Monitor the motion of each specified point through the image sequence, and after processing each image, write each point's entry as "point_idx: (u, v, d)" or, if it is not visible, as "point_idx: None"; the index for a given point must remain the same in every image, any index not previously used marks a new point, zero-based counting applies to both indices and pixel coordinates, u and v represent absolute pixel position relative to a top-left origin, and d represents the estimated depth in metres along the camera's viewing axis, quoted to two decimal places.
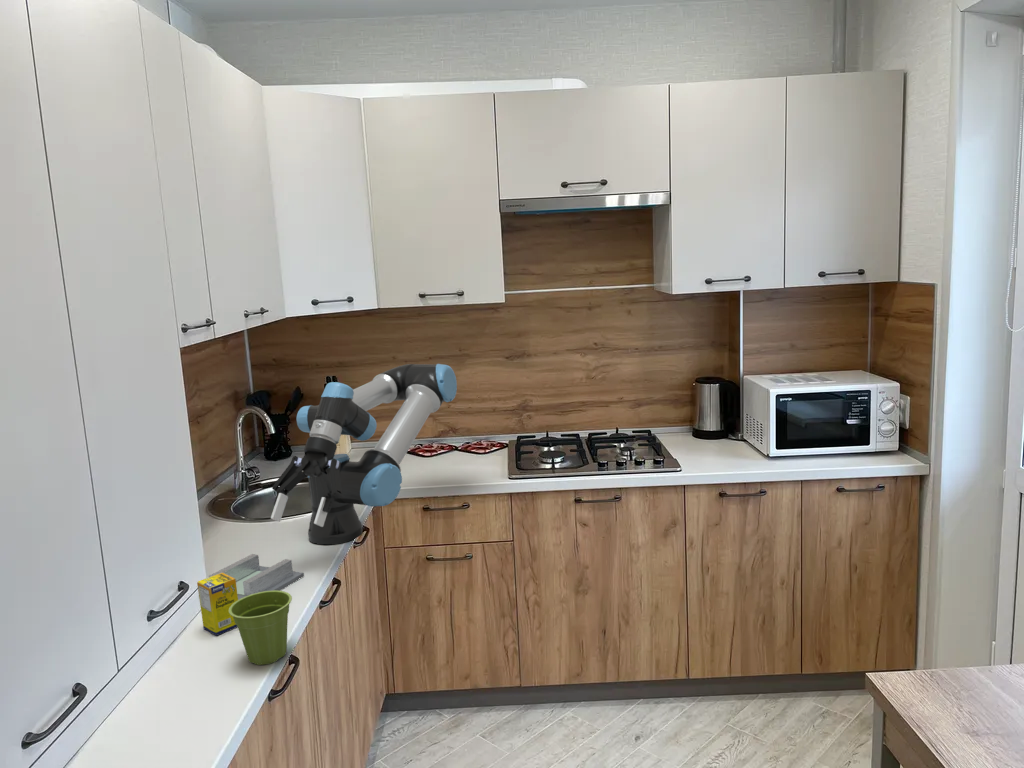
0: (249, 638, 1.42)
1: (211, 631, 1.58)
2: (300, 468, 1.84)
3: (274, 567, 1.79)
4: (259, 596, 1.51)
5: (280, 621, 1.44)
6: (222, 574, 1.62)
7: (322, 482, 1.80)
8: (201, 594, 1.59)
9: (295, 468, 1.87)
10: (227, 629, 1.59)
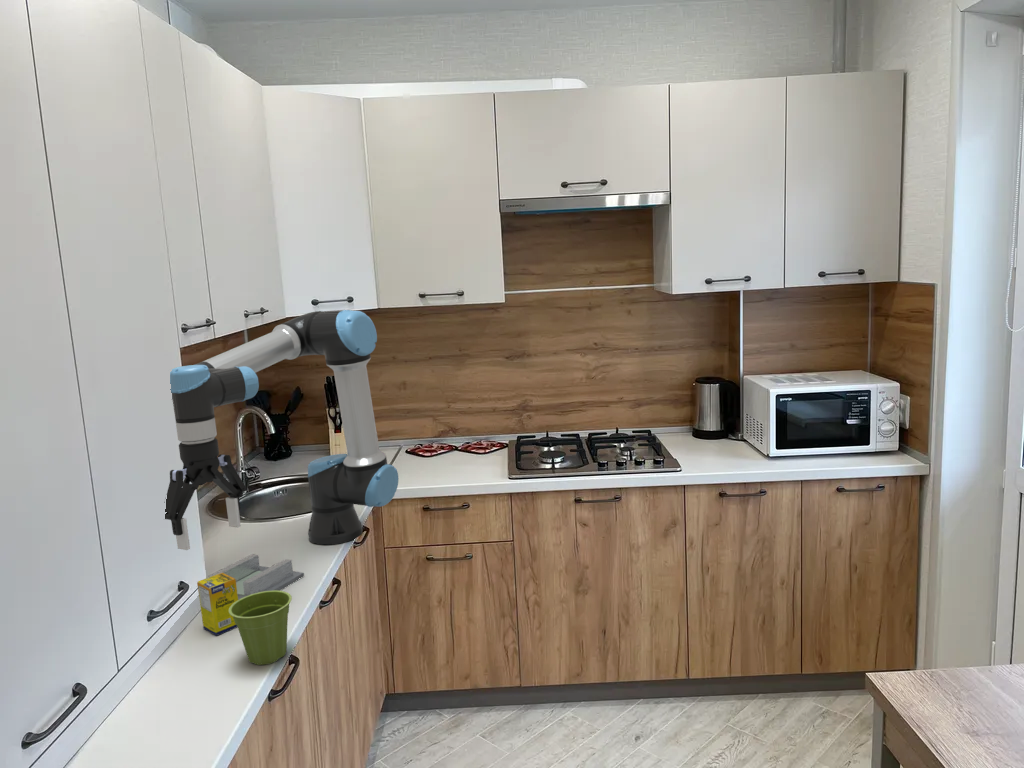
0: (249, 638, 1.42)
1: (211, 631, 1.58)
2: None
3: (274, 567, 1.79)
4: (259, 596, 1.51)
5: (280, 621, 1.44)
6: (222, 574, 1.62)
7: None
8: (201, 594, 1.59)
9: (225, 467, 1.61)
10: (227, 629, 1.59)
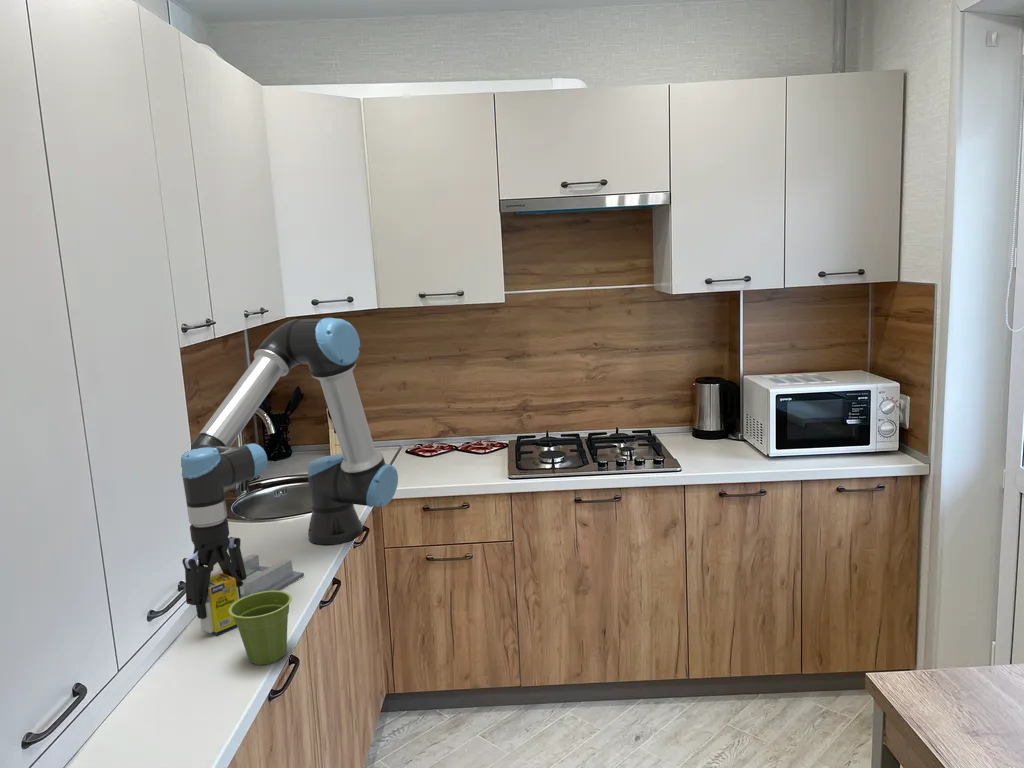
0: (249, 638, 1.42)
1: None
2: None
3: (274, 567, 1.79)
4: (259, 596, 1.51)
5: (280, 621, 1.44)
6: (222, 574, 1.62)
7: None
8: None
9: (232, 550, 1.63)
10: (227, 629, 1.59)
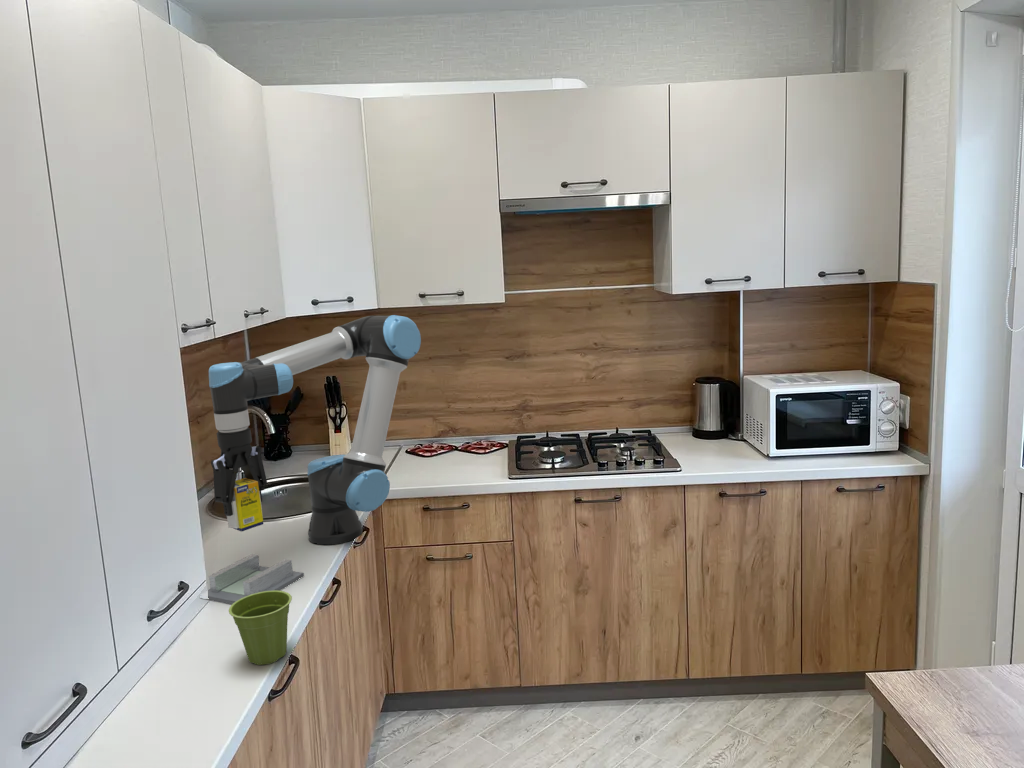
0: (249, 638, 1.42)
1: None
2: None
3: (274, 567, 1.79)
4: (259, 596, 1.51)
5: (280, 621, 1.44)
6: (245, 478, 1.79)
7: None
8: None
9: (254, 457, 1.80)
10: (251, 526, 1.76)
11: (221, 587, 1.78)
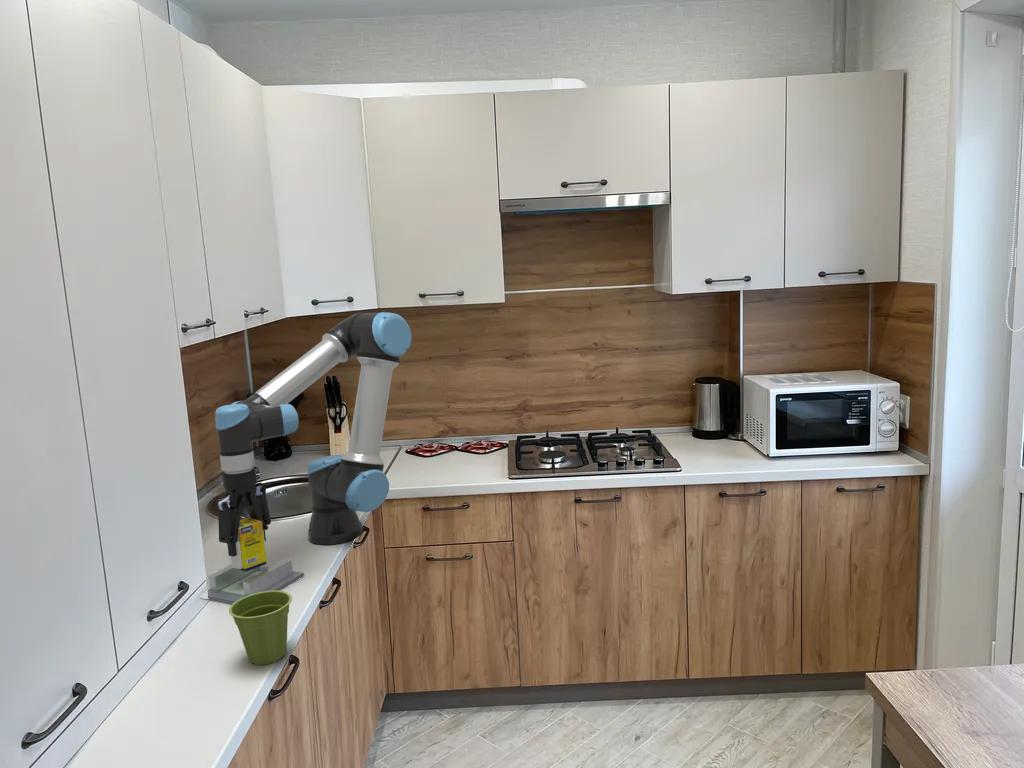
0: (249, 638, 1.42)
1: None
2: None
3: (274, 567, 1.79)
4: (259, 596, 1.51)
5: (280, 621, 1.44)
6: (249, 518, 1.81)
7: None
8: None
9: (259, 497, 1.82)
10: (254, 566, 1.78)
11: (221, 587, 1.78)
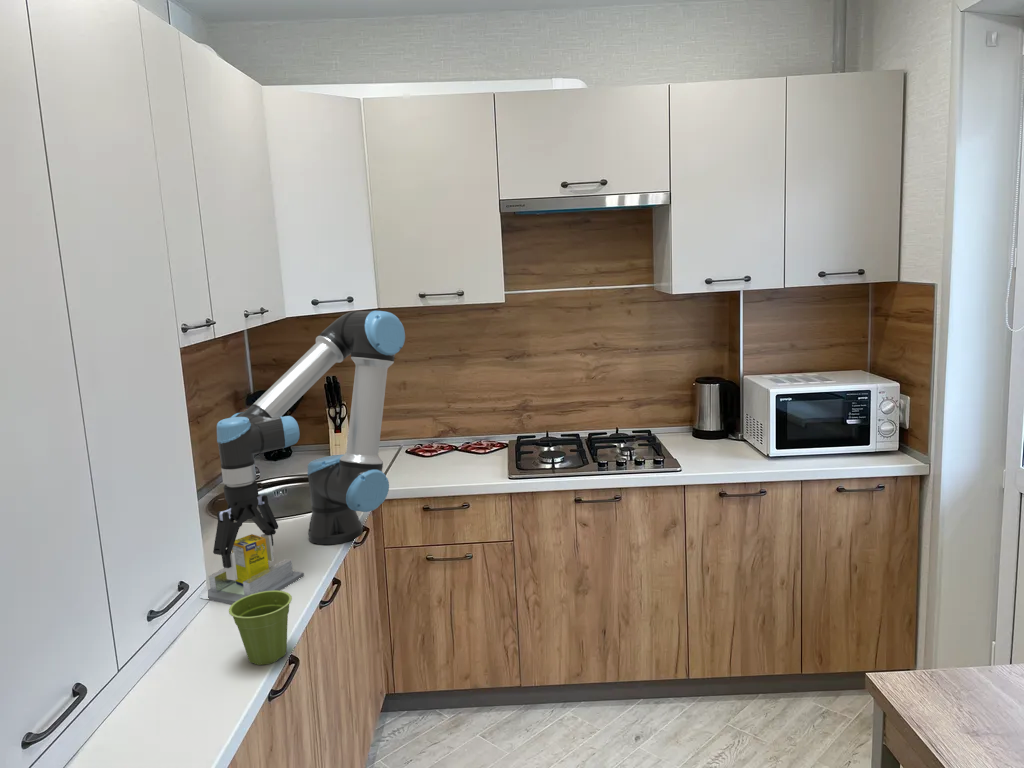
0: (249, 638, 1.42)
1: None
2: None
3: (274, 567, 1.79)
4: (259, 596, 1.51)
5: (280, 621, 1.44)
6: (252, 535, 1.82)
7: None
8: (235, 553, 1.78)
9: (262, 506, 1.83)
10: None
11: (221, 587, 1.78)
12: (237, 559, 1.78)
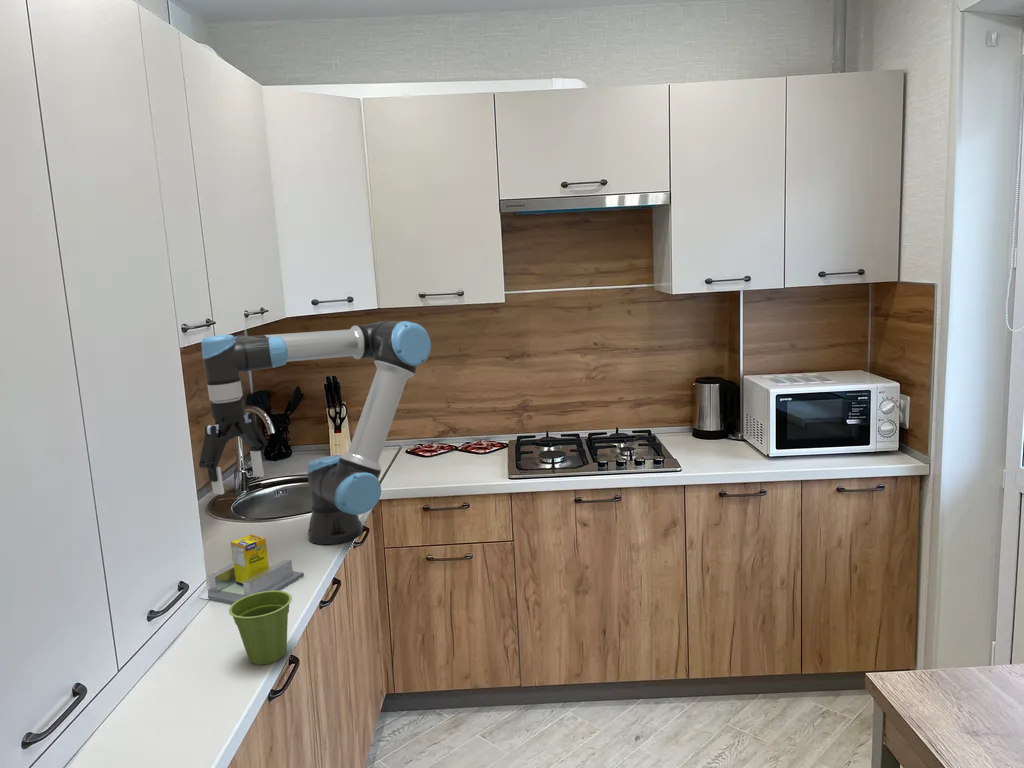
0: (249, 638, 1.42)
1: None
2: None
3: (274, 567, 1.79)
4: (259, 596, 1.51)
5: (280, 621, 1.44)
6: (252, 535, 1.82)
7: None
8: (235, 553, 1.78)
9: (249, 424, 1.84)
10: None
11: (221, 587, 1.78)
12: (237, 559, 1.78)
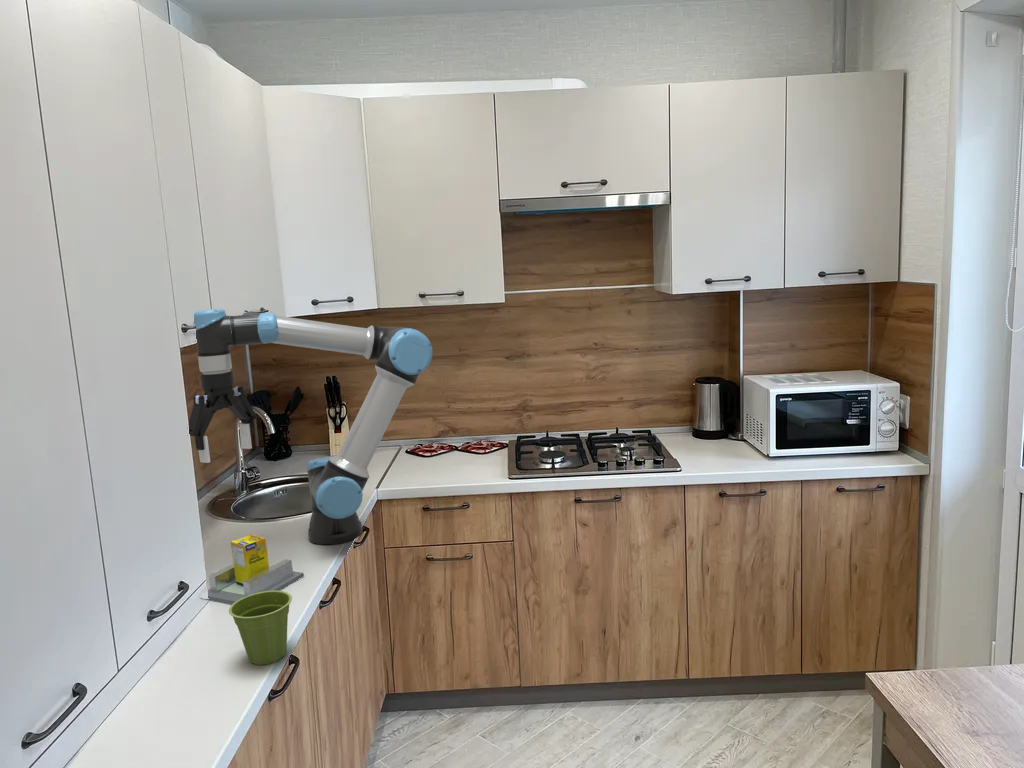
0: (249, 638, 1.42)
1: None
2: None
3: (274, 567, 1.79)
4: (259, 596, 1.51)
5: (280, 621, 1.44)
6: (252, 535, 1.82)
7: None
8: (235, 553, 1.78)
9: (238, 397, 1.90)
10: None
11: (221, 587, 1.78)
12: (237, 559, 1.78)
